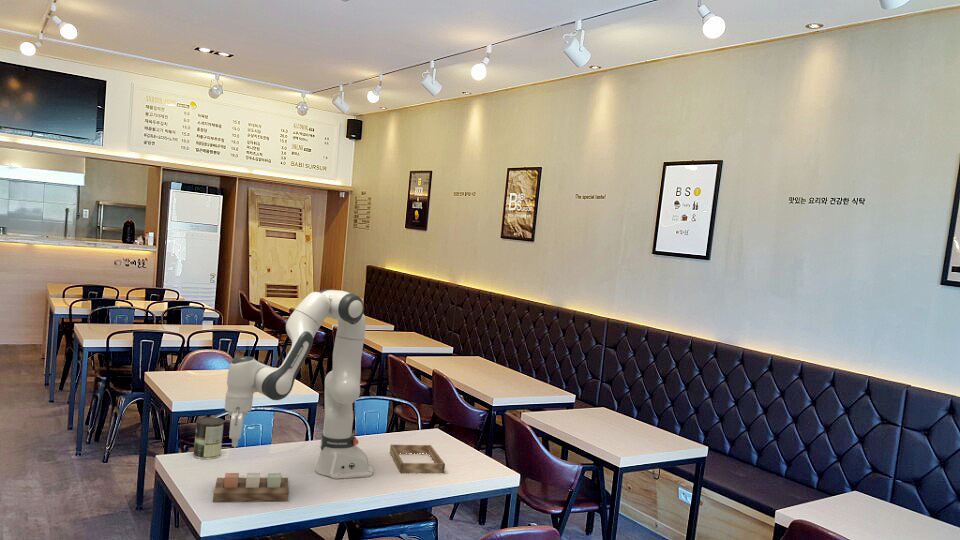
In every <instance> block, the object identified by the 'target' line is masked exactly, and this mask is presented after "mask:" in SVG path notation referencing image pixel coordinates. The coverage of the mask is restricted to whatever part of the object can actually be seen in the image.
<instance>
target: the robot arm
mask: <svg viewBox="0 0 960 540" xmlns="http://www.w3.org/2000/svg"><path fill="white" fill-rule="evenodd" d="M364 307H365V306H364V301H363V299H362V298H361V297H360V296H358V295H357V294H355V293H351V292H349V291H345V290H339V289H337V290H336V289H331V288H325V289H322V290H319V292H318V291H312V292H311V293H309V294H308V295H307V296H306V297H304V299H303V300H302V301H300V303H299V304H298V305H297V306H296V307H295V309H294V310H293V312H292V313H291V315H290V316H289V317H288V319H287V321H286V324H285V331H286V333H287V335H288V337H289V339H290V340H291V347H290V349H289V350H288V353H287V355H286V356H285V358H284V360H283V362H282V363H281V365H280V366H279V367H277V368H275V367H272V366H270V365H267V364H264V363H261V362H260V361H258V360H256V358H254V357H253V356H239V357H235V358H233V359H232V360H231V361H230V364H229V367H228V373H227V378H226V379H227V381H226V386H227V389H226V393H225V400H224V401H225V402H224V410H225V411H226V412H227V415H228V416H231V417H230V421H229V422H230V423H229V432H228V434H229V435H228V436H229V439H231V446H232V447H233V448H236V447H238V443H239V439H241V437H242V433H243V432H242V431H243V424H244V420H245V416H247V415H248V412H251V411H252V410H253V402H254V401H253V398H254V394H255V393H259V394H261V395H264V396H265V397H267V398H269V399H270V400H272V401H280V400H283V399H285V398H287V396H288V395H289V394H290V393H291V391H293V387H294V384H295V380H296V377H297V375H298V374H299V372H300V369H301V367H302V366H303V364H304V363H305V361H306V359H307V357H308V356H309V354H310V351H311V349H312V346H313V344H314V338H315V336H316V333H317V332H318V331H319V329H320V327H321V326H322V324H323V323H324V321H325V320H326V319H327V318H330V319H333V320H337V329H336V334H335V339H334V345H333V350H332V370H331V371H329V372H328V373H327V374H326V376H325V378H324V421H323V427H322V428H323V429H322V430H323V431H322V434H321V438H320V445H319V447H320V452H319V457H318V461H317V463H316V467H315V468H314V471H315V472H316V474H319V475H322V476H325V477H329V478H331V479H339V480H340V479H351V478H352V479H353V478H364V477H365V478H366V477H368V478H369V477H371V476H373V475H374V468H373V466H372V465H371V464H369V458H368V455H367V454H366V452H364V451H363V450H362V448H360V447H359V446H357V445H358V444H359V443H360V442H359V439H358V438H357V437H356V436H354V435H353V424H354V412H353V409H354V408H353V403H356V401H357V400H358V399H359V397H360V395H361V375H362V373H361V372H362V370H361V369H362V368H361V367H362V366H361V365H362V363H361V362H362V354H363V349H364V343H365V337H366V315H365V314H364V310H365V308H364Z"/></svg>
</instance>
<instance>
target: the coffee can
mask: <svg viewBox="0 0 960 540" xmlns="http://www.w3.org/2000/svg"><path fill="white" fill-rule="evenodd" d="M195 422H196V424H195V425H196V426H195V433H194V434H195V436H194V446H193V455H192V456H193V457H194V458H196V459H199V460H214V459H217V458H220V457H221V456H222V454H221V453H222V443H223V433H224V432H223V431H224V423H225V420H224V419H223V418H220V417H215V416H213V417H212V416H211V417H210V416H208V417H207V416H206V417H205V416H204V417H199V418H197V419H196V420H195Z"/></svg>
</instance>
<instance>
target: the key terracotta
mask: <svg viewBox="0 0 960 540" xmlns="http://www.w3.org/2000/svg"><path fill="white" fill-rule="evenodd" d="M224 478H225V480H224V488H237V487H238V479H239V478H240V473H239V472H225V475H224Z"/></svg>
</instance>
